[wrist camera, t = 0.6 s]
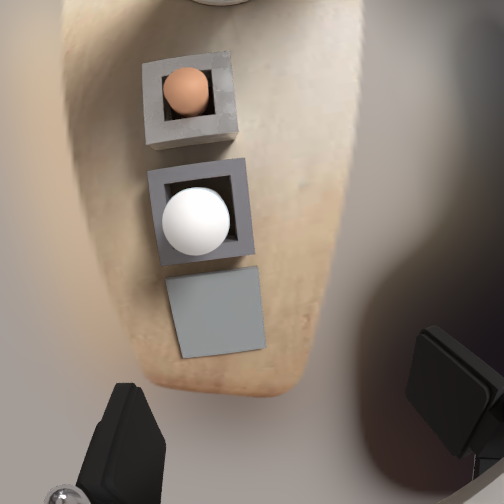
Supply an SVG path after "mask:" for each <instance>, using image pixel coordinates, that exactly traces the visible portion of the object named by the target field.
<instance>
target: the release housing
mask: <svg viewBox="0 0 504 504" xmlns="http://www.w3.org/2000/svg"><path fill="white" fill-rule="evenodd" d="M185 67H191V68H195V69H198V70H199V71H201V72H202V73H203V74H204V75H205V77H206V79H207V82H208V86H212V91H213V102H214V112H215V114H214V115H206V116H198V117H191V118H184V119H177V120H171V107H170V104H169V102H168V101H167V99H166V97H165V95H164V91H163V87H164V83H165V80H166V79H167V77H168V76H169V75H170V74H171V73H172V72H174V71H175V70H177V69H180V68H185ZM142 88H143V110H144V126H145V139H146V145H147V146H149V147H151V148H153V149H155V150H157V151H158V150H163V149H169V148H176V147H182V146H189V145H196V144H204V143H212V142H220V141H230V140H235V139H236V136H237V134H238V132H239V131H238V122H237V112H236V103H235V94H234V84H233V75H232V65H231V56H230V51H224V52H213V53H204V54H195V55H188V56H181V57H175V58H169V59H163V60H158V61H152V62H148V63H143V64H142Z"/></svg>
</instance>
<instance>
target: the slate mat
mask: <svg viewBox="0 0 504 504" xmlns="http://www.w3.org/2000/svg"><path fill="white" fill-rule="evenodd" d="M165 281H166V286H167V291H168V296H169V300H170V305H171V310H172V314H173V319H174V323H175V327H176V331H177V336H178V340H179V344H180V348H181V352H182V356H183V358H190V357H200V356H210V355H218V354H226V353H234V352H241V351H249V350H255V349H262V348H266V341H265V331H264V321H263V311H262V301H261V291H260V281H259V271H258V267H257V266H252V267H244V268H237V269H229V270H222V271H214V272H206V273H198V274H190V275H182V276H174V277H167V278H166V280H165Z"/></svg>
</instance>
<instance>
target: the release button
mask: <svg viewBox="0 0 504 504" xmlns="http://www.w3.org/2000/svg"><path fill="white" fill-rule="evenodd" d="M163 91H164V95H165V97H166V99H167V101H168V102H169V104H170V106H171V107H172V109H173V111H174V112H175V113H176V114H177V115H178V116H180V117H182V118H191V117H197V116H199V115H201V114H202V113H203V112H204V111H205V110H206V109H207V107H208V104H209V94H208V82H207V79H206V77H205V75H204V74H203V73H202V72H201V71H199V70H198V69H195V68H191V67H185V68H180V69H177V70H175V71H174V72H172V73H171V74H170V75H169V76H168V77H167V79H166V80H165V83H164V87H163Z"/></svg>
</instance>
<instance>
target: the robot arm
mask: <svg viewBox="0 0 504 504" xmlns="http://www.w3.org/2000/svg"><path fill="white" fill-rule="evenodd" d="M193 1H196V2H199V3H202V4H207V5H217V6H220V5H233V4H238V3H242V2H246V1H248V0H193ZM405 393H406V397H407V399H408V401H409V402H410V403H411V404H412V406H413V407H414V408H415V409H416V411H417V412H418V413H419V414H420V415H421V417H422V418H423V419H424V420H425V422H426V423H427V424H428V425H429V427H430V428H431V429H432V430H433V432H434V433H435V434H436V435H437V437H438V438H439V439H440V440H441V442H442V443H443V444H444V446H445V447H446V448H447V449H448V451H449V452H450V453H451V454H452V455H453V456H457V457H458V459H459V460H462V459H463V458H465V457H466V456H468V455H469V454H470V453H471V452H472V451H473V452H474V453H475V463H474V472H473V480H472V482H471V483H469V484H467V485H466V486H464V487H463V488H461V489H460V490H458V491H457V492H455V493H454V494H452V495H451V496H449V497H447V498H446V499H444V500H442V501H441V502H439V503H437V504H504V378H503V377H502V376H501V375H500V374H498V373H497V372H496V371H495V370H493V369H492V368H491V367H490V366H488V365H487V364H486V363H485V362H484V361H482V360H481V359H480V358H478V357H477V356H476V355H475V354H473V353H472V352H471V351H469V350H468V349H467V348H466V347H464V346H463V345H462V344H460V343H459V342H458V341H456V340H455V339H454V338H453V337H451V336H450V335H449V334H447V333H446V332H444V331H443V330H442V329H441V328H439V327H438V326H431V327H428V328H425V329H423V330H421V332H420V334H419V335H418V336H417V339H416V345H415V350H414V355H413V360H412V365H411V369H410V374H409V378H408V382H407V387H406V391H405ZM165 453H166V443H165V439H164V437H163V435H162V434H161V431H160V429H159V427H158V425H157V423H156V420H155V418H154V416H153V414H152V412H151V409H150V407H149V405H148V403H147V400H146V398H145V396H144V393H143V391H142V389H141V388H140V387H136V385H135V384H134V383H117V384H116V385H115V387H114V389H113V392H112V394H111V397H110V400H109V402H108V405H107V407H106V410H105V412H104V415H103V417H102V420H101V421H100V422H99V423H98V424H97V426H96V428H95V431H94V434H93V436H92V439H91V442H90V445H89V447H88V450H87V453H86V456H85V459H84V462H83V464H82V467H81V470H80V473H79V476H78V479H77V483H76V486H73V485H69V484H63V485H59V486H56V487H54V488H52V489H51V490H50V491H49V492H48V493H47V495H46V497H45V500H44V504H160V503H161V492H162V481H163V471H164V462H165Z"/></svg>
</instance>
